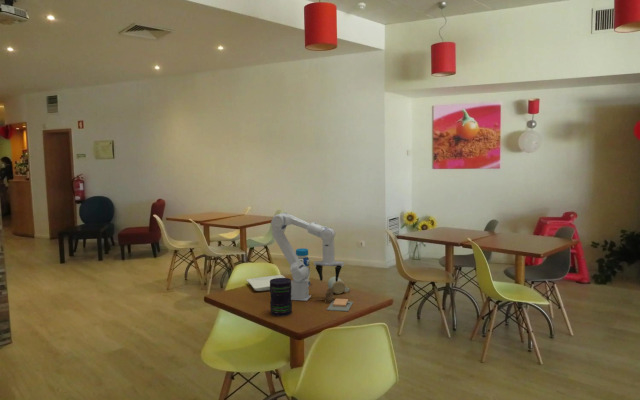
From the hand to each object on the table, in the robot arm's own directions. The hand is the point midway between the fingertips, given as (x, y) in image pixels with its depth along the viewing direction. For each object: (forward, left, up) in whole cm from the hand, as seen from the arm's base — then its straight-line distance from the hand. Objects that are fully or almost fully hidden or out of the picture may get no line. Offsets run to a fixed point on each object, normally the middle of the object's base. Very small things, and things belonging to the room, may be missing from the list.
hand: (329, 280), depth 230 cm
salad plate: (-39, +20, -10) cm, 45 cm away
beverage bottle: (-21, +25, -10) cm, 34 cm away
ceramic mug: (+2, +15, -10) cm, 18 cm away
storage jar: (-18, -22, -10) cm, 30 cm away
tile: (+7, -4, -8) cm, 11 cm away
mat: (+7, -8, -10) cm, 15 cm away
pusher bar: (0, 0, -10) cm, 10 cm away
